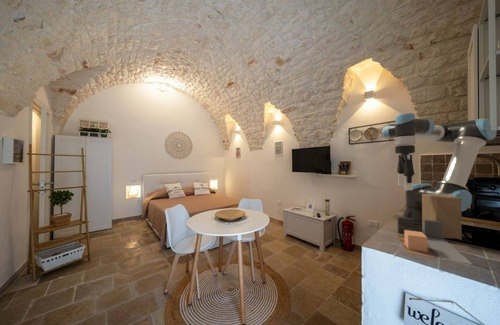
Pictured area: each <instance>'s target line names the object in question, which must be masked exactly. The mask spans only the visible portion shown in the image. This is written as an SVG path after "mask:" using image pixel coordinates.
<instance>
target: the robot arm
mask: <svg viewBox="0 0 500 325" xmlns="http://www.w3.org/2000/svg"><path fill="white" fill-rule="evenodd" d="M490 120H491V119H490V118H476V119H473V120H465V121H458V122H451V123H450V122H449V123H447V124H438V125H437V124H436V123H435V122H434V121H433V120H432V119H428V118H416V116H415V114H414V113H412V112H408V113H406V112H405V113H401V114H398V115H396V116H395V120H394V123H392V124H388V125H385V126H383V127H382V131H381V134H382V136H383V137H384V138H386V139H387V138H388V139H389V138H394V139H393V141H394V144H395V147H394V150H395V151H394V152H395V154H398V162H397V168H396V169H397V170H396V172H397V173H398V174H397V175H398V176H397V180H398V181H397V185H398V187H404V191H405V209H404V211H403V214H402V216H401V217H406V218H413V219H414V225H419V226H422V194H445V195H449V196H454V197H458V198H461V213H462V212H464V211H466V210H468V209H469V208H470V207H471V205H472V201H473V197H472V193H471V192H470V191H469V189H468V187H467V185H466V184H467V183H468V179H469V177H470V174H471V172H472V169H473V166H474V165H475V161H476V159H477V156H478V153H479V150H480V148H482V147H484V146H486V144H487V141H492V140H494V139H495V138H496V137H497V130H496V131H492V130H491V126H490ZM416 139H427V140H429V141H432V142H441V143H454V144H455V147H454V150H453V152H452V156H451V157H450V159H449V163H448V166H447V168H446V170H445V173H444V175H443V178H442V180H441V181H438V182H437V183H436V185H435V186H433V185H432V183H413V181H414V180H413V179H414V175H415V170H414V162H413V154H414V153H415V152H416V146H415V144H416ZM399 154H400V155H399Z"/></svg>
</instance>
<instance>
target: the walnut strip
mask: <svg viewBox="0 0 500 325" xmlns="http://www.w3.org/2000/svg"><path fill="white" fill-rule="evenodd" d="M396 218H397V231H395V235H396V236H397V238H398V239H399V241H400V243H401V244H402V246H403V248H404V250H405V251H406V253H407V254H411V255H418V256H422V257H427V258H428V257H429V258H434V259H435V256H434V254H432V253H431V251H430V250H429V249H428V248H427V252H422V251H416V250H411V249H408V248H407V246H406V245H405V236H404V230H409V231H415V224H414V219H413V218H406V217H402V216H397V217H396Z"/></svg>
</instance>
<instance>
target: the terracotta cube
mask: <svg viewBox="0 0 500 325" xmlns="http://www.w3.org/2000/svg"><path fill="white" fill-rule="evenodd" d="M404 236H405V245H406V246H407V248H408V249H411V250H416V251H422V252H427V249H428V243H427V237H426V236H425V235H424V234H423V231H416V230H414V231H409V230H404Z"/></svg>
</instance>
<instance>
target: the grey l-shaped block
mask: <svg viewBox="0 0 500 325" xmlns="http://www.w3.org/2000/svg"><path fill="white" fill-rule="evenodd" d="M422 233H423V234H424V235H425V236H426V237H427V245H429V246H430V248H432V250H433V251H434V252H435V253H436V254H437V256H438V257H440V259H441V260H444V261H445V260H446V261H450V262H457V263H461V264H468V265H473V263H472V262H471V261H470V260H469V259H467V258H466V257H465V255H463V254H462V253H460V251H458V250H457V249H456V248H455V247H454V246H452V244H451V243H449V242H448V241H447V240H446V238H442V222H441V221H435V220H425V219H423V231H422Z"/></svg>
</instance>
